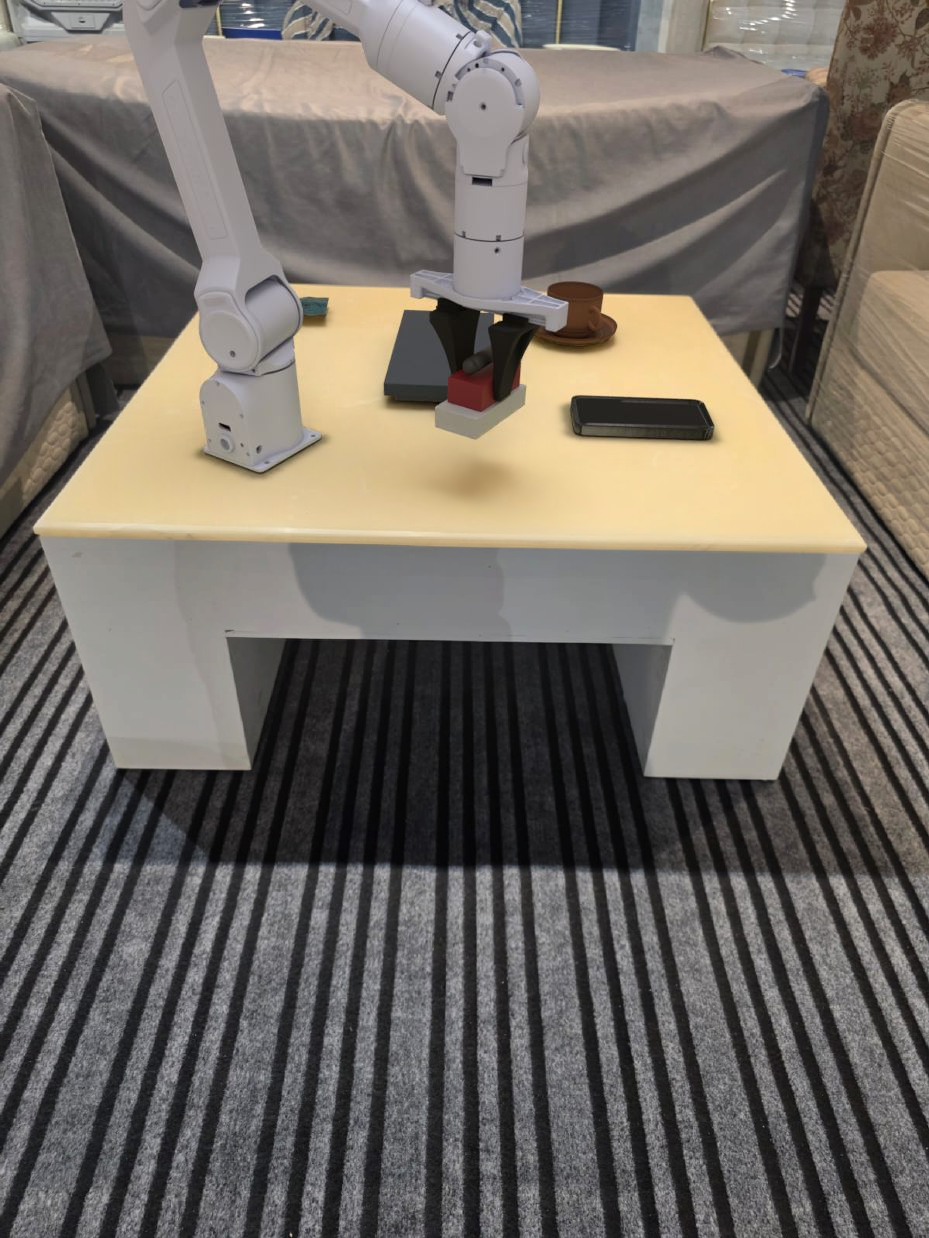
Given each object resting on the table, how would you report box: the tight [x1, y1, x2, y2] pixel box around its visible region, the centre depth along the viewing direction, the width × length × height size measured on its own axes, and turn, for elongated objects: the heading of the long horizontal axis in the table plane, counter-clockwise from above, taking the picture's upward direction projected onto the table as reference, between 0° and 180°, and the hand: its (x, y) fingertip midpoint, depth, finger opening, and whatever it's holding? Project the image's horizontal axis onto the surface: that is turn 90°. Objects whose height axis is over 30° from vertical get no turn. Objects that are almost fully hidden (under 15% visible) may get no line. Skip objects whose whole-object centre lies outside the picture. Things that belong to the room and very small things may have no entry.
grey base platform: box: [383, 309, 495, 403], centre depth 102 cm, size 24×12×3 cm, turn 178°
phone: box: [570, 394, 715, 440], centre depth 92 cm, size 8×1×15 cm
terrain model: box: [299, 296, 330, 317], centre depth 115 cm, size 13×8×2 cm, turn 97°
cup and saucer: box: [534, 280, 618, 347], centre depth 111 cm, size 12×12×6 cm
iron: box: [434, 345, 527, 441], centre depth 76 cm, size 9×4×6 cm, turn 148°
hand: (482, 391), depth 76 cm, fingers closed on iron, 3 cm apart
